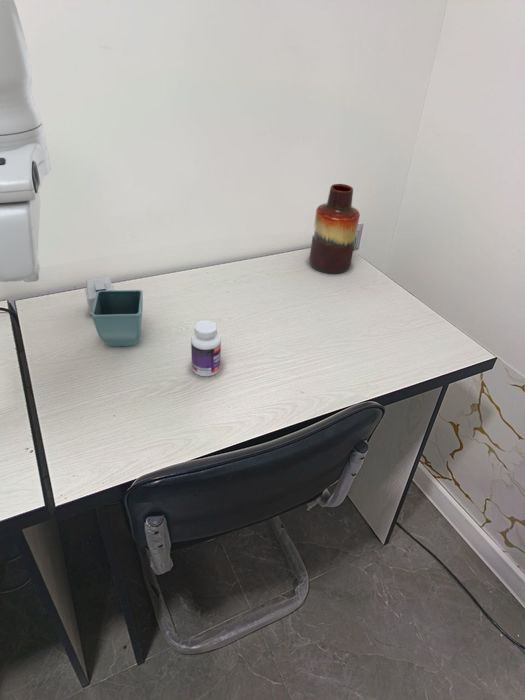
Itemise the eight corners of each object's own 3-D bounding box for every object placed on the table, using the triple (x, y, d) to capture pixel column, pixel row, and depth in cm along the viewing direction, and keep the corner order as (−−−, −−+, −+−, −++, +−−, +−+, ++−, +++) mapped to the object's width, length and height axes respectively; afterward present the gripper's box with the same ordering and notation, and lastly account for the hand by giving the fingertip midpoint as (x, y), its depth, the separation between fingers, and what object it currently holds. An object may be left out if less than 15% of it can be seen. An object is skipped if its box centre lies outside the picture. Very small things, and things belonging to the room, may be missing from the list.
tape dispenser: (90, 318, 107) (88, 304, 98) (84, 290, 108) (81, 273, 99) (118, 314, 109) (118, 300, 100) (112, 286, 110) (112, 269, 101)
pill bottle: (219, 378, 92) (219, 336, 86) (190, 376, 92) (188, 334, 86) (221, 359, 96) (222, 318, 90) (193, 358, 96) (192, 317, 90)
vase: (336, 251, 136) (348, 177, 123) (358, 270, 128) (373, 193, 116) (301, 257, 132) (311, 182, 119) (322, 277, 124) (334, 198, 112)
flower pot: (144, 352, 97) (140, 314, 91) (98, 354, 95) (90, 315, 90) (146, 326, 103) (142, 289, 98) (103, 327, 102) (96, 290, 97)
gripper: (-23, 126, 56) (8, 238, 65) (-51, 193, 41) (-6, 328, 50) (37, 125, 58) (59, 234, 66) (31, 189, 43) (61, 320, 51)
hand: (31, 275), depth 58 cm, fingers closed
